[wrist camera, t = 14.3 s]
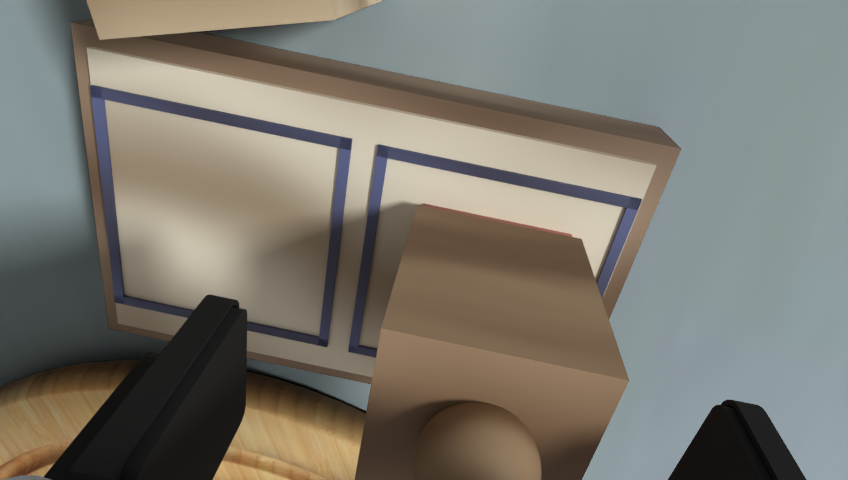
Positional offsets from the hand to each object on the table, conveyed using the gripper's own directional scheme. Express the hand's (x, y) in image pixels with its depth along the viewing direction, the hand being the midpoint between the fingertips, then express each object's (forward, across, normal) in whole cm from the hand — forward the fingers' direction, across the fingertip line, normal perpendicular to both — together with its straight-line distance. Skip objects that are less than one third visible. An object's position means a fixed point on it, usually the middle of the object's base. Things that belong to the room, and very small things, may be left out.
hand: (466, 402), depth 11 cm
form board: (+8, +4, +1) cm, 9 cm away
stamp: (+6, 0, +1) cm, 6 cm away
